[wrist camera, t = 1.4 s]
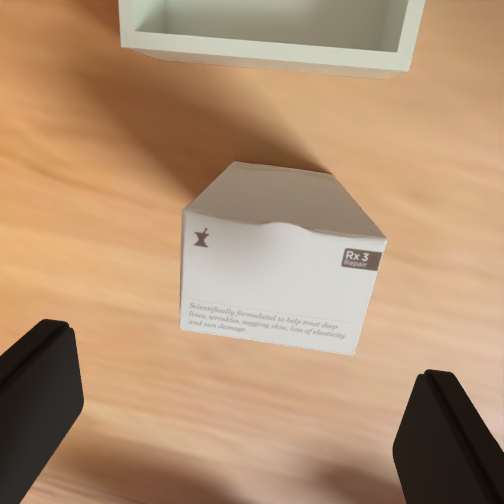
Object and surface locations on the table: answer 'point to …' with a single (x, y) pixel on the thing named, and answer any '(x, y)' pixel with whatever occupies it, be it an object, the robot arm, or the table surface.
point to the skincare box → (278, 259)
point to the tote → (277, 34)
